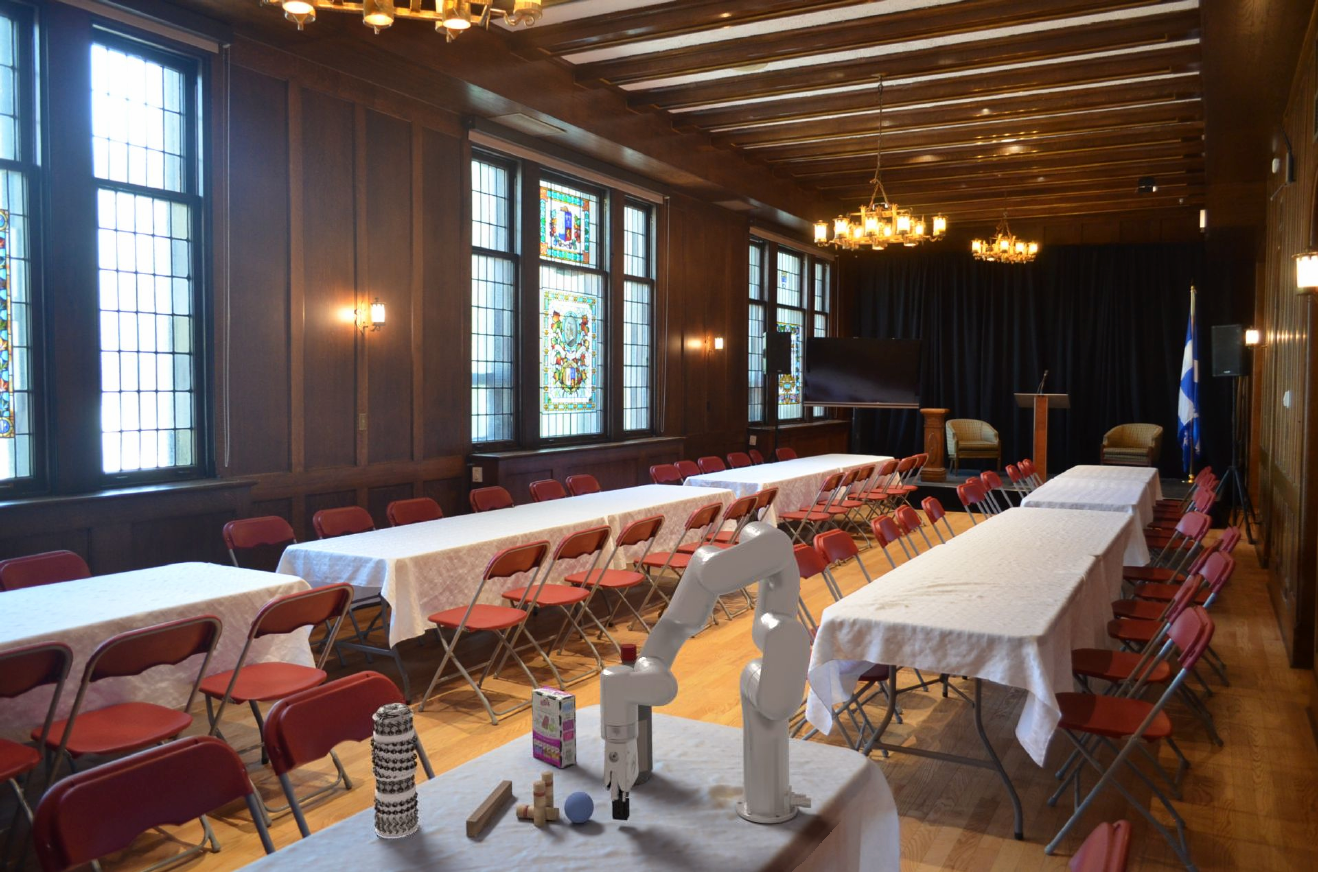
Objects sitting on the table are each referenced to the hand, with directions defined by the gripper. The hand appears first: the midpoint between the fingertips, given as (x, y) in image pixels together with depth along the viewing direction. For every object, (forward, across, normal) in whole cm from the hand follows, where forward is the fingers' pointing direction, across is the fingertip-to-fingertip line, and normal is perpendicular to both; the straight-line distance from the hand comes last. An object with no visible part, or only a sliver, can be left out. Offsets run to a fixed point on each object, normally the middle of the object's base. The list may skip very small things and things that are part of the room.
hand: (620, 817), depth 197 cm
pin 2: (+2, +2, +16) cm, 17 cm away
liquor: (+2, +24, +4) cm, 24 cm away
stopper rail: (+2, 0, +28) cm, 28 cm away
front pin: (0, 0, +13) cm, 13 cm away
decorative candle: (+2, -10, +44) cm, 45 cm away
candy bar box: (+2, +30, +24) cm, 38 cm away
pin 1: (+2, -2, +16) cm, 17 cm away
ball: (-2, 0, +9) cm, 9 cm away
